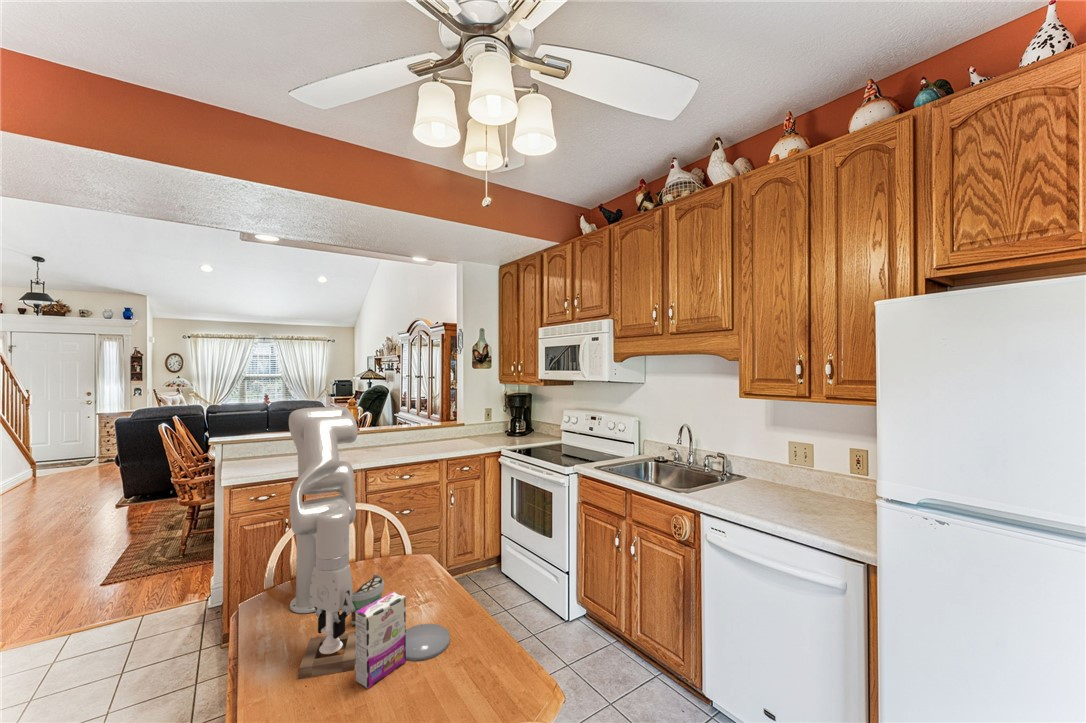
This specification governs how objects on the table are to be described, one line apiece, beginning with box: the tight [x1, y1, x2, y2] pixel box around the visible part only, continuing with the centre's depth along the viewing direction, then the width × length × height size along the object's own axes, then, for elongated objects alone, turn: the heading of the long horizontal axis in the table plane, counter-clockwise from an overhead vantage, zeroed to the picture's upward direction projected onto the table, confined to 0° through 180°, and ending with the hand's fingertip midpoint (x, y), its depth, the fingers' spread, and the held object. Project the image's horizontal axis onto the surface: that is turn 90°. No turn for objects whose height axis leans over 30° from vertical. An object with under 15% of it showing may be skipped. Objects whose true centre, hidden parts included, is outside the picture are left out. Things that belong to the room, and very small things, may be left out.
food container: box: [350, 573, 385, 628], centre depth 129 cm, size 12×6×10 cm, turn 168°
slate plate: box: [406, 623, 451, 662], centre depth 117 cm, size 14×14×1 cm
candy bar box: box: [354, 591, 407, 690], centre depth 106 cm, size 11×5×16 cm, turn 148°
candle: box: [319, 611, 343, 655], centre depth 112 cm, size 5×5×12 cm
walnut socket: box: [298, 631, 356, 680], centre depth 111 cm, size 12×12×2 cm
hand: (331, 632), depth 112 cm, fingers closed on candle, 4 cm apart
